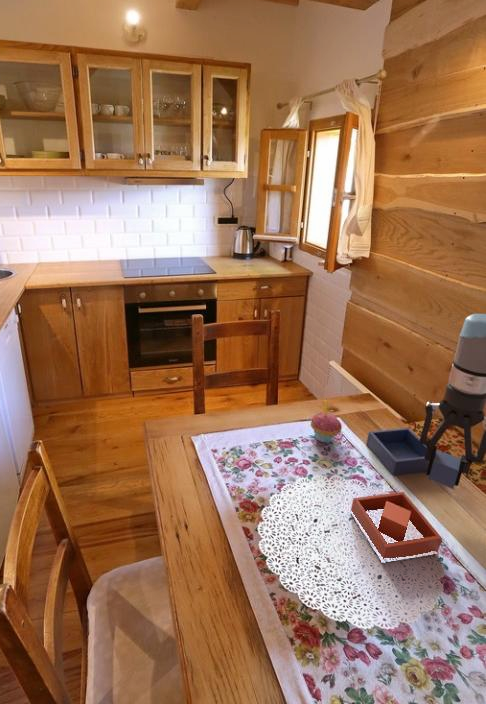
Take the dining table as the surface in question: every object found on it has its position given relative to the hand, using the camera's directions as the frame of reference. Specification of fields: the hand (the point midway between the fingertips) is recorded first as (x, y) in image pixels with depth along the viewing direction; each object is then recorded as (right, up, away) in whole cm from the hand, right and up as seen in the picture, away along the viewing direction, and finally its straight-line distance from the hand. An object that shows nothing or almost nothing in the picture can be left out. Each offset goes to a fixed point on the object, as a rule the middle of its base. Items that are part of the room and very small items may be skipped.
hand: (442, 476), depth 93 cm
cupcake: (-21, +2, +24) cm, 32 cm away
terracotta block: (-14, -9, -6) cm, 18 cm away
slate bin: (-2, -2, +18) cm, 18 cm away
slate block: (0, 0, 0) cm, 0 cm away
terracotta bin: (-14, -10, -6) cm, 18 cm away
